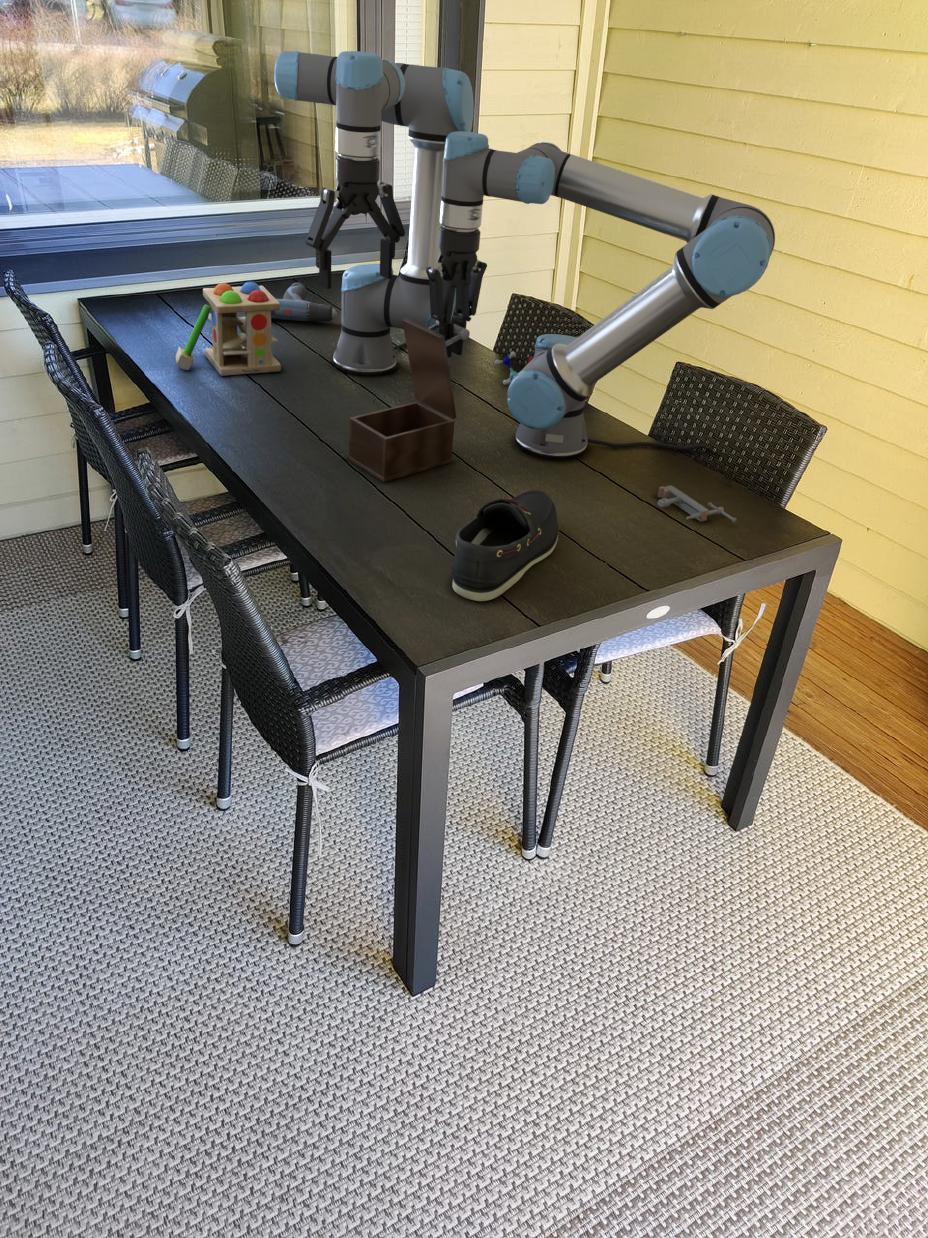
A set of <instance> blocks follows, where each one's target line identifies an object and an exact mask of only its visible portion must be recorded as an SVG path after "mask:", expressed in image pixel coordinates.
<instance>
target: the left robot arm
mask: <svg viewBox="0 0 928 1238" xmlns="http://www.w3.org/2000/svg"><path fill="white" fill-rule="evenodd" d="M273 75H274V84H275V85H274V87H275V89H276V91H277V93H278V94H279V96H280V97H281V98H283V99H287V100H293V101H296V102H297V101H298V102H299V101H300V102H306V103H315V104H323V105H330V106H336V108H335V109H336V110H335V113H336V119H335V120H336V121H335V152H336V153H337V154H338V155H337V156H336V158H335V178H336V182H337V186H336V187H335V189H330V188H329V187H328V188H327V187H326V186H325V187H322V188H321V190H320V200H319V204H318V206H317V209H316V211H315V215H314V216H313V220H312V223H311V225H310V228H309V229H308V232H307V236H306V239H305V241H304V242H305V245H307V246H309V247H311V248H312V249H315V266H316V268H317V269H318V285H319V286H320V287H323V288H324V289H327V290H329V289H332V250H331V249H329V247H330V245H331V244H332V242H333V241H334V239H335V238H336V235H337V234H338V233H339V232H340V230H341V228H342V226H343V225H344V223H345V222H346V221H347V220H348V219H349V218H350V217H351V216H357V215H360V214H362V215H369V217H370V218H371V219H372V221H373V222H374V224H375V225H376V227H377V228H378V230H379V231H380V232H381V234H382V235H383V237H384V238H381V239H380V243H379V244H380V248H379V250H380V251H379V263H366V264H365V263H364V264H358V265H354V266H351V267H349V268H346V270H345V271H344V272H343V274H342V277H341V278H342V281H341V287H340V292H341V313H340V314H341V316H340V317H341V319H340V321H341V324H340V325H341V326H340V329H341V330H340V336H339V338H338V341H337V344H336V345H335V343H336V341H335V339H333V340H334V341H333V343H332V349H334V347H335V346H336V348H335V350H334V352H333V361H332V362H333V363H332V364H333V366H334V367H335V368H337V369H338V370H339V371H342V372H344V373H347V374H352V375H356V376H380V375H381V376H382V375H386V374H389V373H391V372H393V371H395V369H396V368H397V361H398V360H397V354H396V352H395V350H398V349H402V348H404V347H407V345H406V342H404V343H400V344H397V345H395V346H394V343H393V341H392V337H391V336H392V335H391V328H394V329H399V330H400V329H401V330H404V328H403V322H402V320H403V319H405V318H406V319H409V320H411V321H413V322H415V323H417V324H419V325H422V326H424V327H426V328H428V327H430V326H432V325H434V324H435V323H436V320H435V319H433V318H431V310H430V289H429V278H428V275H427V273H426V269H427V267H431V268H432V267H434V266H435V265H436V264H437V263H438V258H439V256H440V249H439V246H438V241H439V228H440V227H441V226H442V224H441V223H440V209H441V196H442V180H443V159H444V152H445V143H446V138H447V136H448V135H449V134H450V133H452V132H457V131H466V132H472V128H473V121H474V114H475V113H474V112H475V107H474V106H475V104H474V103H475V101H474V93H473V87H472V83H471V79H470V78H469V76H468V74H467V73H465V72H464V71H461V70H457V69H452V68H449V67H440V66H439V67H438V66H428V65H427V66H426V65H418V64H408V63H404V62H403V63H402V62H394V61H391V60H388V59H383V58H382V57H381V55H379V54H377V53H374V52H368V51H360V50H359V51H358V50H350V51H349V50H344V51H341V52H340V53H339V54H338V56H332V55H326V54H325V55H324V54H317V53H312V52H311V53H310V52H301V51H299V50H295V51H294V50H293V51H292V50H283V51H281V52H280V53H279V54H278V55H277V57H276V60H275V64H274V73H273ZM382 122H383V123H387V124H389V125H390V124H391V125H395V126H399V127H406V128H408V133H407V134H408V135H407V136H408V139H409V141H410V142H411V143H412V145H413V146H414V150H413V151H414V152H413V168H412V170H413V171H412V184H411V186H412V187H411V199H410V200H411V201H410V217H409V233H408V247H407V248H408V249H407V262H406V263H405V264H404V265H403V266H402V267H401V268H400V269H399V275H397V274H394V269H393V259H395V258H396V244H397V243H399V242H400V241H401V238H403V237H405V235H406V230H405V227H404V225H403V222H402V218H401V216H400V213H399V211H398V210H399V209H398V208H397V205H396V202H395V199H394V187H393V185H392V184H389V183H387V182H383V181H381V182H379V181H380V175H381V173H380V171H381V167H380V166H381V160H380V159H379V158H378V157H379V156H380V154H381V137H382V136H381V132H382V131H381V130H382ZM378 182H379V184H378ZM378 197H379V199H380V202H381V205H382V208H383V210H384V213H385V215H384V213H382V211H381V210H382V209H381V207H380V206H379V204H378V203H377V202H376V200H377V199H378ZM335 203H336V204H335ZM385 216H386V217H385ZM441 273H442V272H441ZM441 278H442V277H441ZM455 310H456V289H455V295H454V302H453V309H452V316H451V322H452V318H453V315H454V312H455ZM433 331H434V332H437V333H439V329H438V328H437V329H435V330H433Z"/></svg>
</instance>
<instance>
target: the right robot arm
mask: <svg viewBox="0 0 928 1238" xmlns="http://www.w3.org/2000/svg"><path fill="white" fill-rule="evenodd" d="M551 196H553V197H556V198H559V199H563V200H565V201H568V202H571V203H574V204H577V205H580V206H583V207H586V208H589V209H590V210H594V211H597V212H600V213H603V214H606V215H609V216H612V217H614V218H617V219H621V220H622V221H623V220H624V221H626V222H630V223H632V224H635V225H637V226H640V227H643V228H646V229H650V230H652V231H655V232H658V233H661V234H664V235H666V236H670V237H671V238H674V239H678V240H680V241H684V242H686V244H684V245H683V246H682V247H680V248H679V249H678V250H677V251H675V254H674V259H673V264H672V266H670V267H669V268H668V269H666V270H665V271H664V272H662V273H661V274H660V275H658V276H657V277H656V278H655V279H652V280H651V281H650V282H649V283H648V284H646V285H645V286H643V288H641V290H639V291H637V292H636V293H635V294H634V295H632V296H631V297H630V298H628V299H627V300H625V301H624V302H623V303H622V304H620V305H619V306H617V308H615V309H613V311H611V312H610V313H609V314H607V315H605V316H604V317H603V318H602V319H600V320H599V321H598V322H596V323H595V324H594V325H592V326H591V327H590V328H588V329H587V330H586V331H584V332H583V333H582V334H580V335H579V336H578V337H576V336H572V335H566V334H559V333H558V334H557V333H545V334H541V335H539V336H537V338H536V341H535V345H534V355H533V357H534V358H533V359H532V360H531V361H530V362H529V361H528V363H527V364H526V365H525V366H524V367H523V368H522V369H521V370H520V371H519V372H517V373H518V374H516V375H515V376H514V378H513V380H512V381H511V383H510V384H509V385H508V388H507V394H506V399H507V400H506V401H507V406H508V409H509V411H510V413H511V414H512V417H514V419H515V420H516V421H517V422H518V423H519V425H518V427H517V429H516V432H515V438H514V443H515V446H516V447H517V448H518V449H519V450H521V451H522V452H523V453H526V454H528V455H530V456H533V457H536V458H539V459H544V460H550V461H551V460H552V461H568V460H573V459H577V458H580V457H582V456H583V455H585V454H586V452H587V448H588V444H594V445H595V444H596V445H599V446H600V445H601V446H605V447H609V448H634V447H654V448H662V449H663V448H664V449H670V450H677V451H691V450H698V449H704V450H707V452H709V453H712V454H714V453H715V450H714V449H713V448H712V447H711V448H705V445H706V444H705V443H701V444H700V443H699V444H693V445H692V444H691V445H675V444H669V443H661V442H654V441H637V442H636V441H635V442H634V441H633V442H625V443H624V442H623V443H622V442H621V443H620V442H619V443H615V442H609V441H606V440H605V441H604V440H599V439H593V438H588V434H587V427H586V421H585V415H584V413H585V406H586V400H587V399H589V398H590V397H591V396H592V395H593V392H594V386H595V384H596V383H597V382H598V381H600V380H601V379H603V378H604V377H605V376H606V375H608V374H609V373H611V372H612V371H614V370H615V369H617V368H618V367H619V366H621V365H622V364H623V363H625V362H626V361H628V360H629V359H631V358H632V357H633V356H635V355H636V354H638V353H639V352H640V351H642V350H643V349H644V348H647V346H649V345H650V344H652V343H653V342H655V341H656V340H657V339H659V338H660V337H661V336H663V335H664V334H665V333H667V332H668V331H670V330H671V329H673V328H674V327H675V326H677V325H678V324H680V323H681V322H683V321H684V320H685V319H687V318H688V317H689V316H691V315H692V314H693V313H695V312H696V311H697V310H699V309H702V308H703V309H708V310H714V309H716V308H717V307H719V306H720V305H721V304H723V303H724V302H726V301H727V300H729V299H731V298H732V297H734V296H738V295H740V294H742V293H745V292H747V291H748V290H750V289H751V288H752V287H754V286H755V285H756V284H757V283H758V282H759V281H760V280H761V278H762V277H763V275H764V274H765V271H766V270H767V268H768V266H769V262H770V259H771V256H772V254H773V251H774V248H775V244H776V233H775V227H774V224H773V223H772V221H771V219H770V218H769V217H768V215H767V214H766V213H765V212H764V211H762V210H761V209H760V208H758V207H756V206H753V205H750V204H746V203H743V202H739V201H736V200H732V199H729V198H724V197H721V196H719V195H715V194H712V193H710V194H708V195H707V196H704V197H701V196H698V195H695V194H693V193H689V192H686V191H683V190H680V189H677V188H675V187H671V186H668V185H665V184H662V183H659V182H656V181H654V180H653V181H652V180H650V179H647V178H644V177H641V176H639V175H636V174H632V173H629V172H625V171H623V170H620V169H617V168H614V167H611V166H607V165H605V164H602V163H599V162H596V161H593V160H590V159H587V158H584V157H581V156H578V155H574V154H571V153H568V152H566V151H564V150H562V149H561V148H560V147H559V146H558V145H556V144H554V143H552V142H548V141H547V142H545V141H542V142H536V143H534V144H532V145H530V146H529V147H527V148H525V149H522V150H520V151H518V152H513V151H504V150H497V149H493V148H490V144H489V137H488V136H487V135H486V134H483V133H479V132H475V131H470V132H466V131H457V132H452V133H450V134H449V135H448V136H447V138H446V143H445V152H444V159H443V180H442V196H441V209H440V223H441V224H442V226H441V227H440V228H439V241H438V246H439V249H440V256H439V258H438V263H437V264H436V265H435V266H434V267H432V268H431V267H427V269H426V273H427V275H428V278H429V289H430V310H431V318H433V319H435V320H437V321H439V334H441V335H443V336H445V341H447V340H449V339H451V338H453V337H455V336H454V335H453V328H454V324H456V325H458V326H461V327H463V328H465V329H467V322H471V321H472V317H473V316H476V314H477V310H478V304H479V299H480V294H481V290H482V289H481V288H482V282H483V277H484V274H485V273H486V270H487V268H488V264H487V263H486V262H484V261H481V260H479V259H478V254H477V252H478V251H479V249H480V243H481V231H480V229H479V228H480V227H481V226H482V220H483V219H482V217H483V207H484V197H490V198H497V199H503V200H508V201H514V202H520V203H524V204H527V205H529V204H535V205H544V204H546V203H547V202H548V201H549V199H550V197H551ZM441 272H442V273H441ZM441 277H442V278H441ZM455 289H456V305H455V316H456V317H453V316H452V309H453V302H454V295H455ZM451 316H452V319H451ZM471 316H472V317H471ZM451 320H452V322H451ZM463 346H464V340H462V339H460V340H458V341H456V342H454V343H452V344H450V345H449V346H447V347H446V350H447V357H448V359H449V358H452V353H453V354H456V355H457V356H463V355H462V354H463Z"/></svg>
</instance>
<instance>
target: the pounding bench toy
mask: <svg viewBox="0 0 928 1238" xmlns="http://www.w3.org/2000/svg"><path fill="white" fill-rule="evenodd" d="M202 296H203V298H204V299H205V300H206V301H207V302H208V304H209V305H208V304H204V305H203V307H202V309H201V312H200V313H199V316H198V318H197V320H196V322H195V324H194V327H193V329H192V331H191V332H190V333H191V334H190V336H189V338H188V340H187V343H186V344H185V347H184V348H182V347H180V346H179V347H178V349H177V351H176V354H175V357H174V358H175V362H176V365H177V366H178V368H179V369H182V370H185V371H189V370H190V369H191V367H192V365H193V363H194V356H193V351H194V348H195V347H196V345H197V342H198V340H199V337H200V336H201V333H202V332H203V329H204V326H205V325H206V322H207V320H209V321H210V322H211V336H212V337H211V338H212V339H211V340H212V348H205V349H204V352H205V353H204V355H205V357H206V359H208V361H209V363H210V364H211V365H212V366H213V367H214V369H215V370H216V371H217V372H218V374H219V375H220V376H222V377H223V376H234V375H235V376H236V375H246V374H247V375H250V374H262V373H275V372H281V370H282V364H281V363H280V362H279V360H278V359H277V358H276V357H275V356H274V355H273V348H272V347H273V345H272V344H276V343H278V342H279V341H278V339H277V338H276V337H275V336H274V334H272V318H271V310H280V303H279V302H278V301H277V300H276V299H277V298H276V297H274V296H273V295H272V294H271V293H270V292H269V290H268V289H267V288H266V287H264V285H259V284H257V283H256V282H255V281H247V282H245V283H244V284H243V285H242V286H232V285H230V284H229V283H226V282H221V283H218V284H217V285H216V286H215V287H204V288H203V289H202ZM238 313H244V314H245V315H244V316H238ZM238 329H239V331H240V333H239V334H238Z"/></svg>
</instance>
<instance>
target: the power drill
mask: <svg viewBox="0 0 928 1238" xmlns="http://www.w3.org/2000/svg"><path fill="white" fill-rule="evenodd" d="M307 295H308V290H307V287H306V285H304V284H303V283H301V282H293V283H292V284H291V285H290V286H289V287H288V288H287V289H286V291H285V292H284V294H283V297H282V298H275V299H276V300H277V301H278V302H279V303H280V310H271V319H274V320H275V319H276V320H283V321H294V322H295V321H297V322H332V321H333V320H334V319H336V318H337V317H338V312H337V311H336V308H334V307H333V306H332V305H331V304H324V303H317V302H313V301H307V300H305V299H306V297H307Z"/></svg>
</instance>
